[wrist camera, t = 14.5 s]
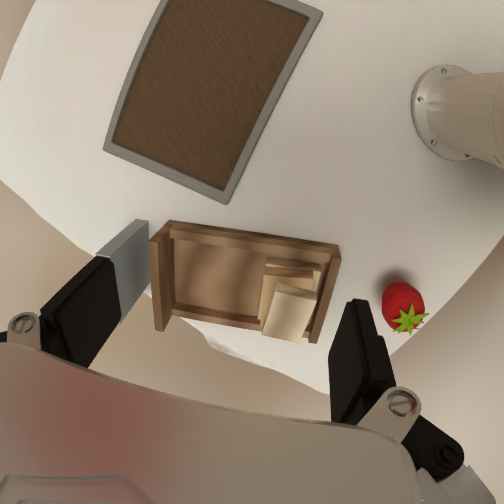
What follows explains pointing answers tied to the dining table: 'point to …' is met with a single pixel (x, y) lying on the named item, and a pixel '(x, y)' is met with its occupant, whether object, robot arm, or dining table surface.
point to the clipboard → (207, 88)
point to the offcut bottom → (296, 265)
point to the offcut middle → (284, 276)
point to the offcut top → (289, 312)
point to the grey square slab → (130, 262)
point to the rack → (228, 274)
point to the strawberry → (403, 307)
